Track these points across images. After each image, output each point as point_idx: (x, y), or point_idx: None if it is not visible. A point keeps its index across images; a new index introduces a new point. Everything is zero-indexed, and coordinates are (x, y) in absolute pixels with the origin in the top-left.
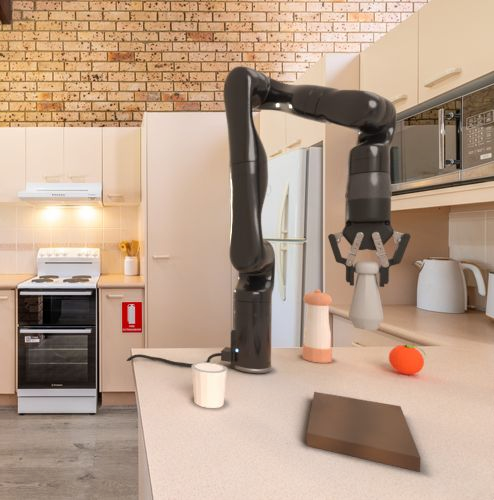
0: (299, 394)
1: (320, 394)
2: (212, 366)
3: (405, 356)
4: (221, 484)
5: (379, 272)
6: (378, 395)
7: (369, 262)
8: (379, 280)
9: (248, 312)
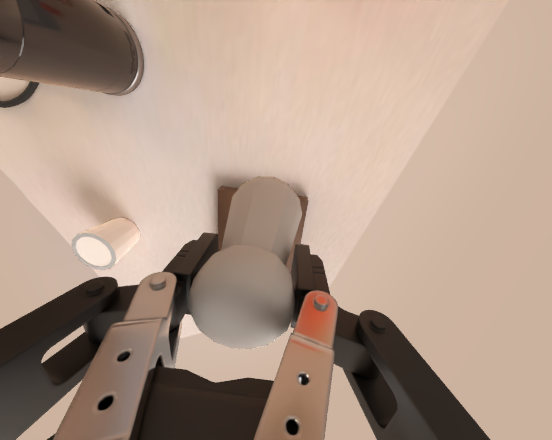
0: (203, 166)
1: (225, 197)
2: (95, 247)
3: None
4: (183, 331)
5: (295, 284)
6: (302, 123)
7: (245, 347)
8: (293, 267)
9: None
